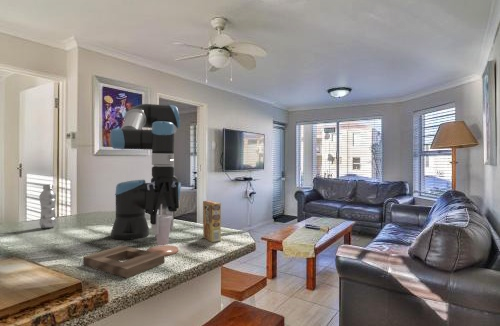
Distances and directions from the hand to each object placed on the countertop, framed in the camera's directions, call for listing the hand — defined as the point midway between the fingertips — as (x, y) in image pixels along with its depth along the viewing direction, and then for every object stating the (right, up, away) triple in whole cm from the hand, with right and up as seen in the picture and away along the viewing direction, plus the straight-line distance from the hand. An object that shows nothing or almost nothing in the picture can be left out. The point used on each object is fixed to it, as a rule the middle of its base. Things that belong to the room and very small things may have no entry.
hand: (162, 231), depth 106 cm
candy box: (+15, -7, +17) cm, 24 cm away
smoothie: (0, -5, 0) cm, 5 cm away
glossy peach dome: (0, -7, 0) cm, 7 cm away
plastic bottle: (-63, -6, +33) cm, 72 cm away
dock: (-8, -7, -12) cm, 17 cm away
